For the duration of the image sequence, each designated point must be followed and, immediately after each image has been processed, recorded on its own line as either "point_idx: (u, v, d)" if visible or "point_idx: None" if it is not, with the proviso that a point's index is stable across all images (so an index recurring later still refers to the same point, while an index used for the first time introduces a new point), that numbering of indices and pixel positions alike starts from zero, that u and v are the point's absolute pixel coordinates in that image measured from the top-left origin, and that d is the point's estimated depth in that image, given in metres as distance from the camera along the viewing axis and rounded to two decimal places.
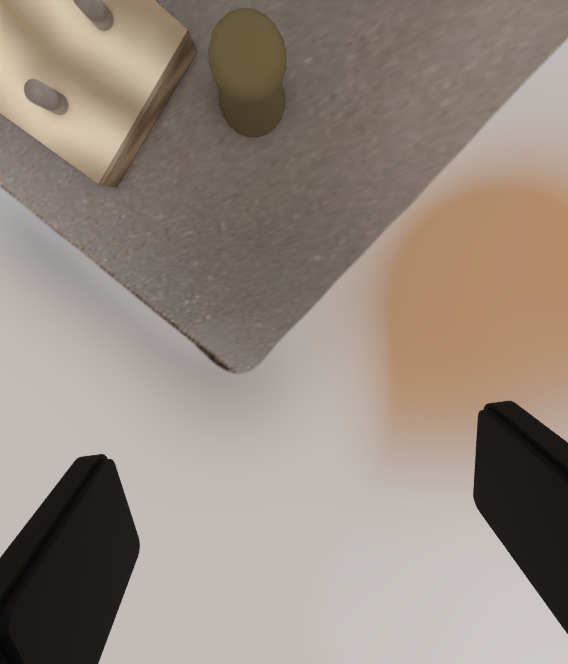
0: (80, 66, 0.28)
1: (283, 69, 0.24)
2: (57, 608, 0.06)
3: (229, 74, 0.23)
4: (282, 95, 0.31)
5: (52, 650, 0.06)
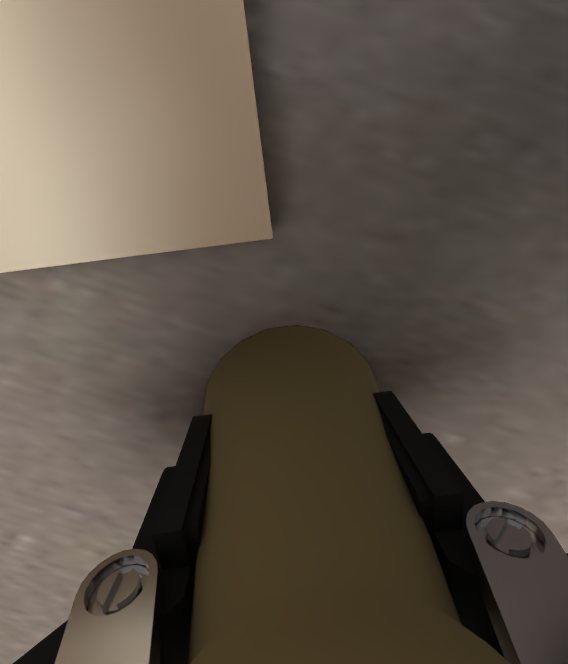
0: None
1: None
2: None
3: None
4: None
5: None
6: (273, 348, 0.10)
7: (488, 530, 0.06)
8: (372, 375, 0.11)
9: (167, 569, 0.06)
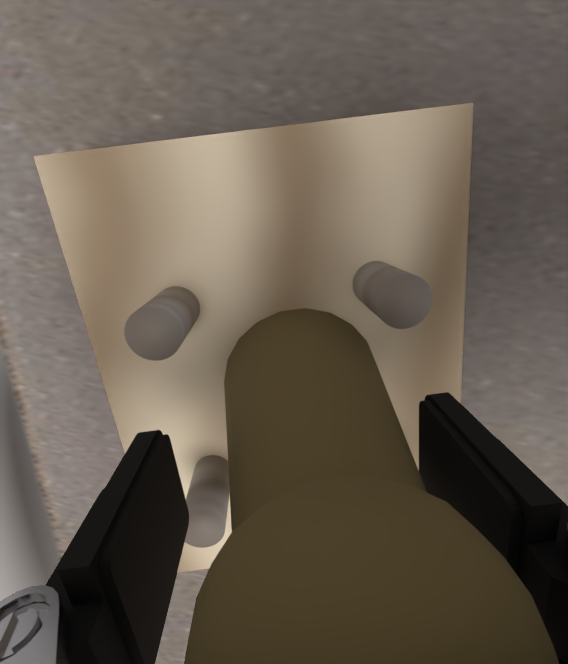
0: None
1: None
2: (139, 559, 0.07)
3: None
4: None
5: (137, 595, 0.07)
6: (286, 326, 0.12)
7: None
8: (370, 350, 0.13)
9: (78, 605, 0.06)
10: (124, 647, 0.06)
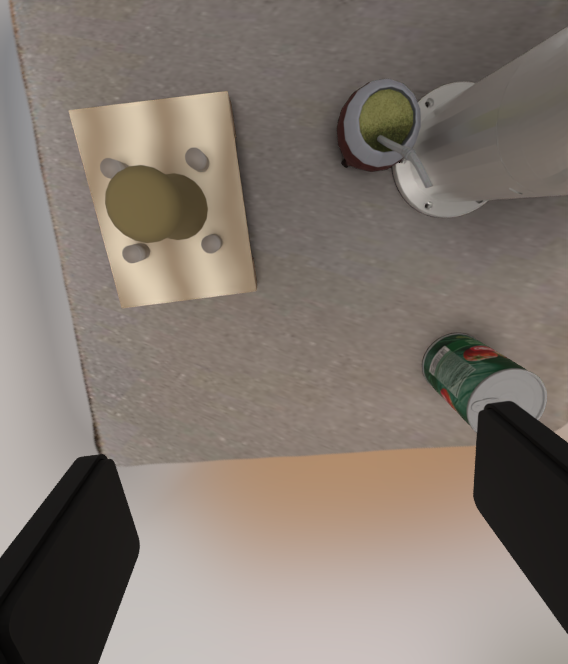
0: (176, 248, 0.36)
1: (162, 237, 0.26)
2: (57, 608, 0.06)
3: (111, 206, 0.24)
4: (190, 231, 0.33)
5: (52, 650, 0.06)
6: None
7: None
8: (198, 188, 0.33)
9: None
10: None
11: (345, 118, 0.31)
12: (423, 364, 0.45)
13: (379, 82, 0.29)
